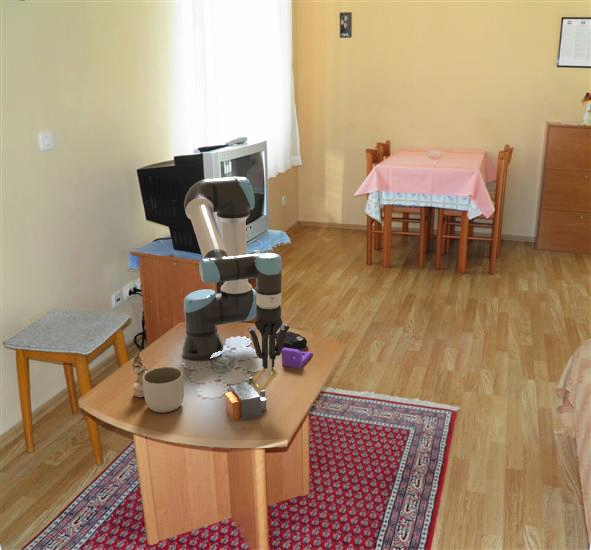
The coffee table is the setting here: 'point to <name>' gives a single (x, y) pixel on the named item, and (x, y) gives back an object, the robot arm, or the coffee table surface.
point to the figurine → (139, 374)
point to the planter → (163, 389)
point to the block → (248, 400)
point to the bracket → (294, 357)
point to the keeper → (266, 381)
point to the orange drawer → (238, 405)
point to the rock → (293, 341)
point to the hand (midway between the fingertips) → (268, 377)
